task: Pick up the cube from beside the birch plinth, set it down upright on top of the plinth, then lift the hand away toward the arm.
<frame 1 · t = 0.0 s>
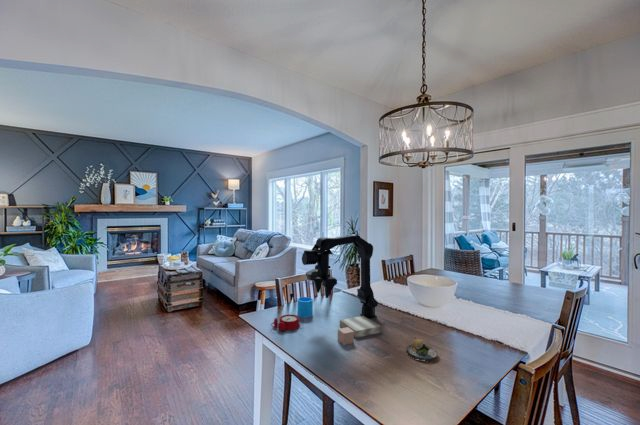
hand: (322, 295, 143), 15 cm above the table, fingers open, 9 cm apart
alarm clock: (286, 327, 140), on the table
plate of food: (421, 355, 116), on the table
mug: (303, 313, 158), on the table
cube: (345, 341, 126), on the table
plinth: (359, 329, 139), on the table
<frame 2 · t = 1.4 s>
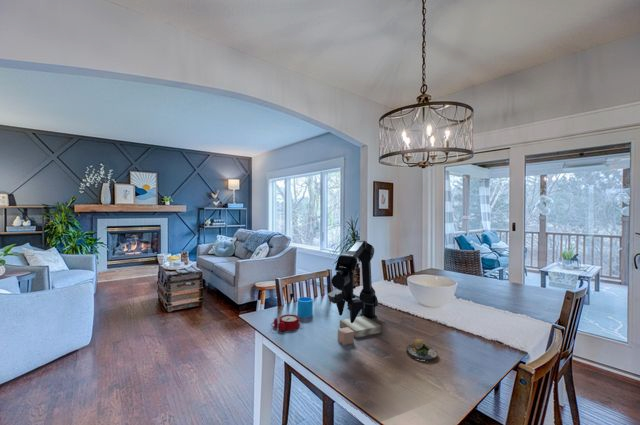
hand: (346, 319, 126), 10 cm above the table, fingers open, 9 cm apart
nothing on the table moved.
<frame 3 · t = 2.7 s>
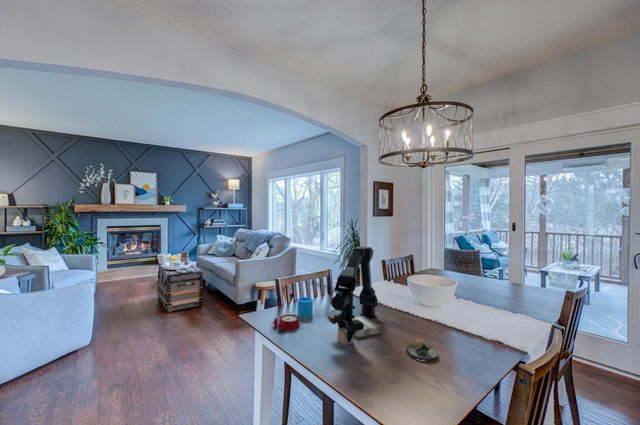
hand: (345, 339, 126), 1 cm above the table, fingers closed on cube, 5 cm apart
cube: (345, 341, 126), on the table, touching gripper
everything else where it was.
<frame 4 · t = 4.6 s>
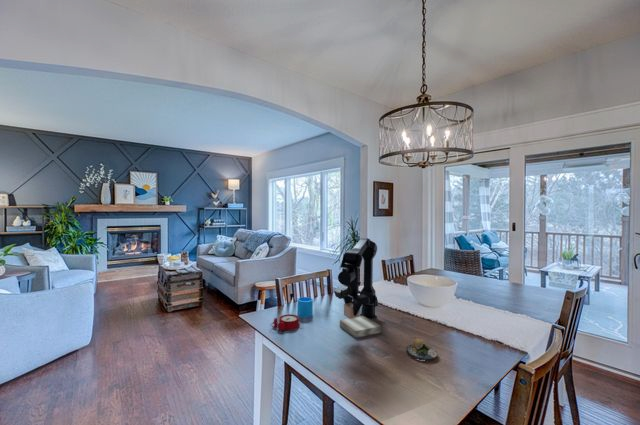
hand: (351, 313, 130), 10 cm above the table, fingers closed on cube, 5 cm apart
cube: (351, 315, 130), point 9 cm above the table, touching gripper
everything else where it was.
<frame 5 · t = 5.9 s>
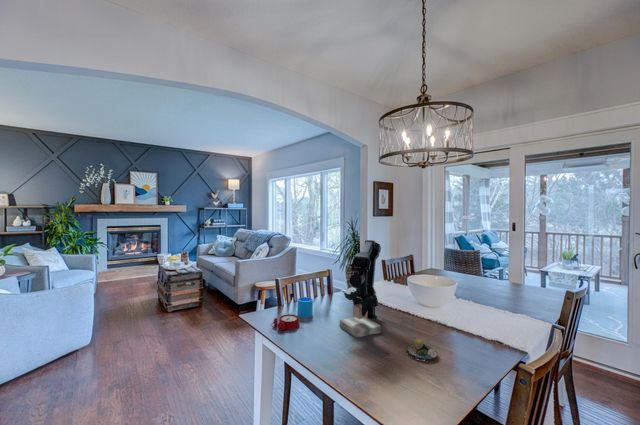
hand: (360, 314, 139), 7 cm above the table, fingers closed on cube, 5 cm apart
cube: (360, 316, 139), point 6 cm above the table, touching gripper
everything else where it was.
when the fingers open (5 cm above the table, at t = 6.6 s): cube drops 1 cm, resting on plinth.
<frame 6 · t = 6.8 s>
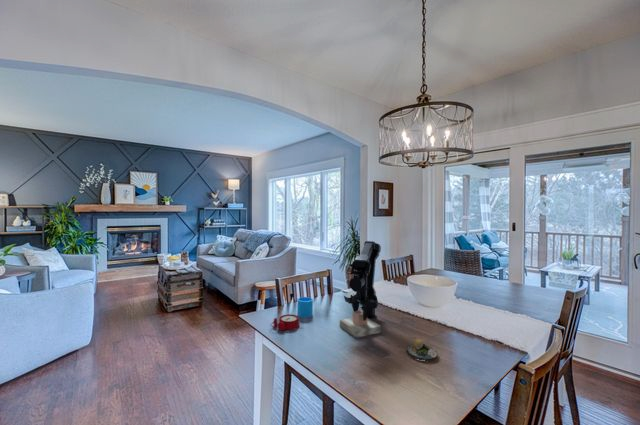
hand: (360, 317, 139), 5 cm above the table, fingers open, 7 cm apart
cube: (359, 322, 139), point 3 cm above the table, touching plinth
everything else where it was.
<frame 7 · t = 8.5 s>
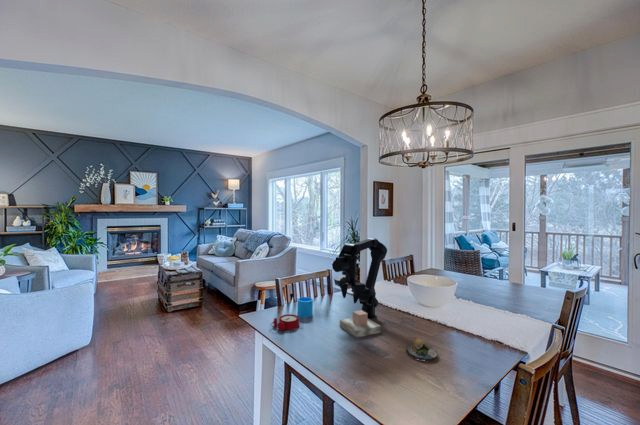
hand: (349, 300, 144), 12 cm above the table, fingers open, 9 cm apart
nothing on the table moved.
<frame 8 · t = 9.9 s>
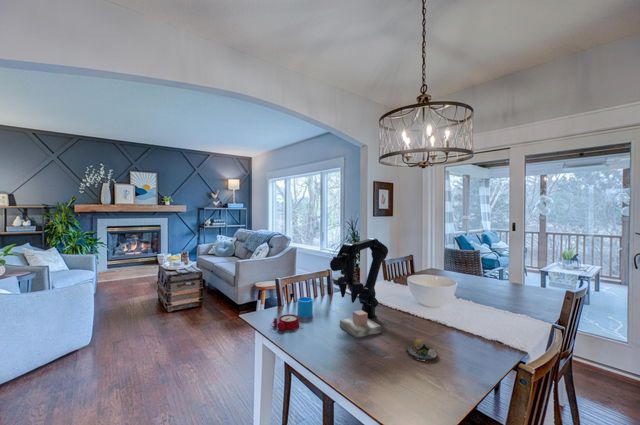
hand: (347, 299, 145), 12 cm above the table, fingers open, 9 cm apart
nothing on the table moved.
at the end: cube inside the target area on the plinth (0.0 cm from its centre), point 3.0 cm above the plinth's base; cube tilted 0°; the gripper is holding nothing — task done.
